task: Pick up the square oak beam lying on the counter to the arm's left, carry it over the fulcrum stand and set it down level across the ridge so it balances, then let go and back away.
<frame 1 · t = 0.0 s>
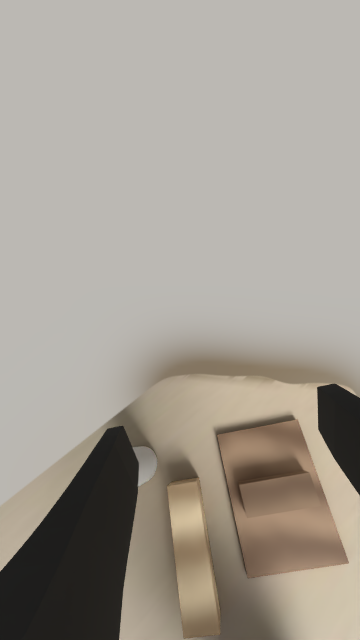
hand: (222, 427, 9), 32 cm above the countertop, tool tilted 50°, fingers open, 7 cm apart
beam: (194, 540, 33), on the countertop
fulcrum: (273, 489, 34), on the countertop
beverage can: (143, 463, 38), on the countertop
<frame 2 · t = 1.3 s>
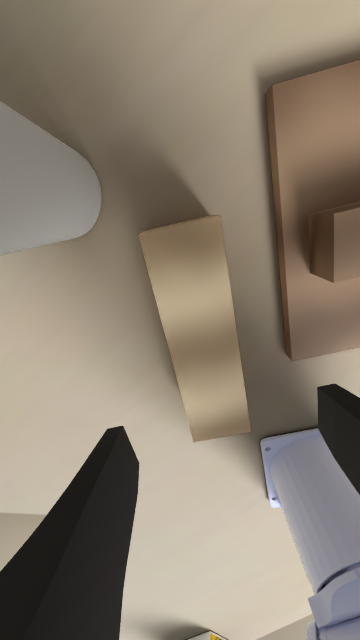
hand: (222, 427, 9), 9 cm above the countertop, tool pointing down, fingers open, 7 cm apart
beam: (198, 323, 18), on the countertop
beverage can: (65, 195, 15), on the countertop
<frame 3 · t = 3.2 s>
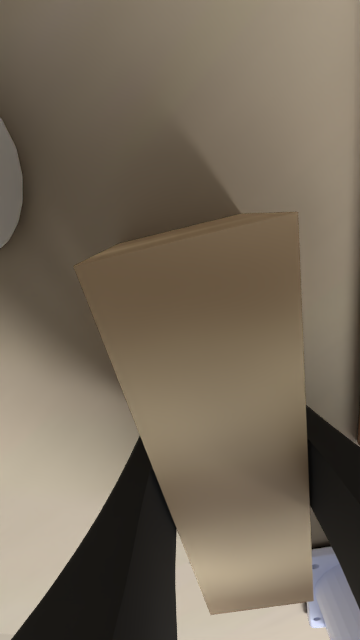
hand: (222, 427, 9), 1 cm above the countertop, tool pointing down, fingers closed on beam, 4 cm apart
beam: (215, 397, 11), on the countertop, touching gripper
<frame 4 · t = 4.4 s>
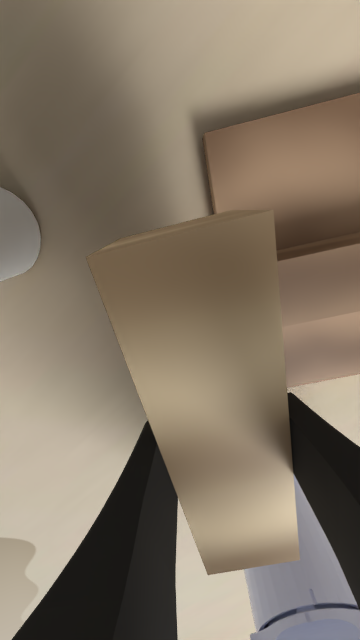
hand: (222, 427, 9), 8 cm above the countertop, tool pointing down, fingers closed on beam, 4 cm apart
beam: (210, 380, 12), point 6 cm above the countertop, touching gripper
fulcrum: (320, 266, 15), on the countertop
beverage can: (6, 232, 15), on the countertop
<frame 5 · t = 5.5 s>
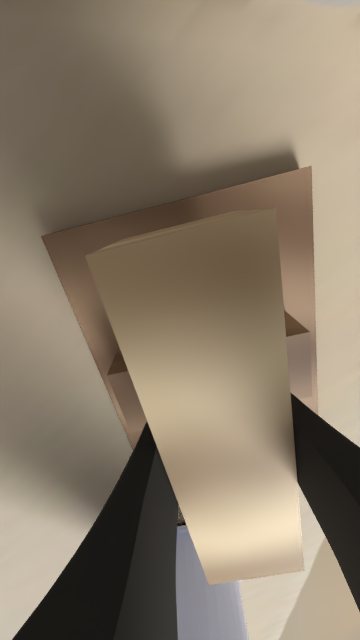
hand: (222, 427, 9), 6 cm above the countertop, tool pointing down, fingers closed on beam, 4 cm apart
beam: (212, 384, 11), point 3 cm above the countertop, touching fulcrum, gripper
fulcrum: (204, 348, 15), on the countertop
when the fingers open (6 cm above the countertop, at t = 6.2 s): beam stays where it is, resting on fulcrum.
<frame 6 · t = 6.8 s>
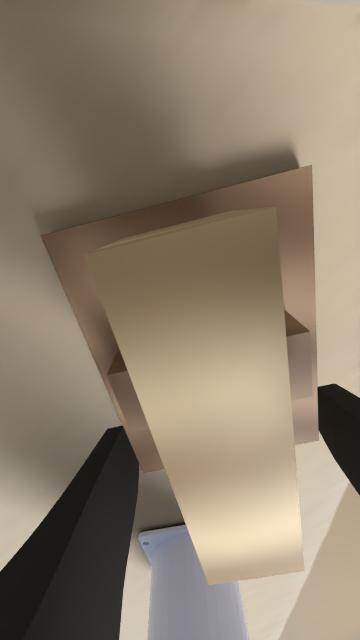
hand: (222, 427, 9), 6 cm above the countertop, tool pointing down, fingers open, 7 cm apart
beam: (212, 384, 11), point 3 cm above the countertop, touching fulcrum
fulcrum: (204, 348, 15), on the countertop
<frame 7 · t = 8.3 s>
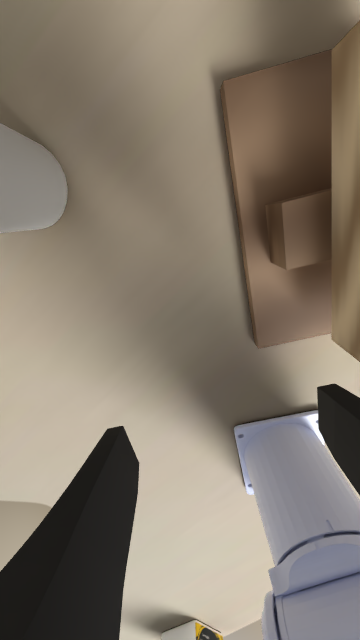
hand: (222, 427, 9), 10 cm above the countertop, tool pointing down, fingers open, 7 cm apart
medicine bottle: (191, 630, 40), on the countertop
fulcrum: (331, 216, 16), on the countertop
beverage can: (34, 187, 15), on the countertop
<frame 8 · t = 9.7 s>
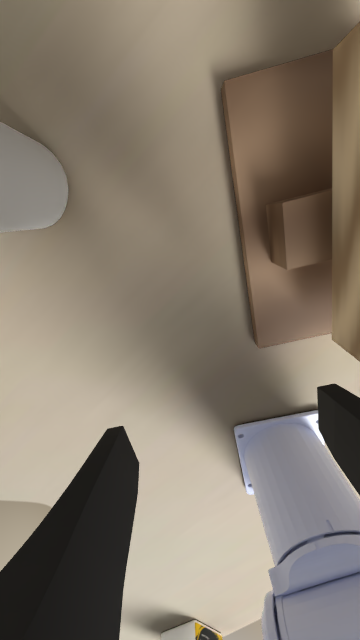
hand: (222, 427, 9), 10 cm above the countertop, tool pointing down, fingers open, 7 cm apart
medicine bottle: (191, 630, 40), on the countertop
fulcrum: (332, 216, 16), on the countertop
beverage can: (34, 187, 15), on the countertop
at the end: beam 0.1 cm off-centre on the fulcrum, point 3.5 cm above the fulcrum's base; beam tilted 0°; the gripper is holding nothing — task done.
